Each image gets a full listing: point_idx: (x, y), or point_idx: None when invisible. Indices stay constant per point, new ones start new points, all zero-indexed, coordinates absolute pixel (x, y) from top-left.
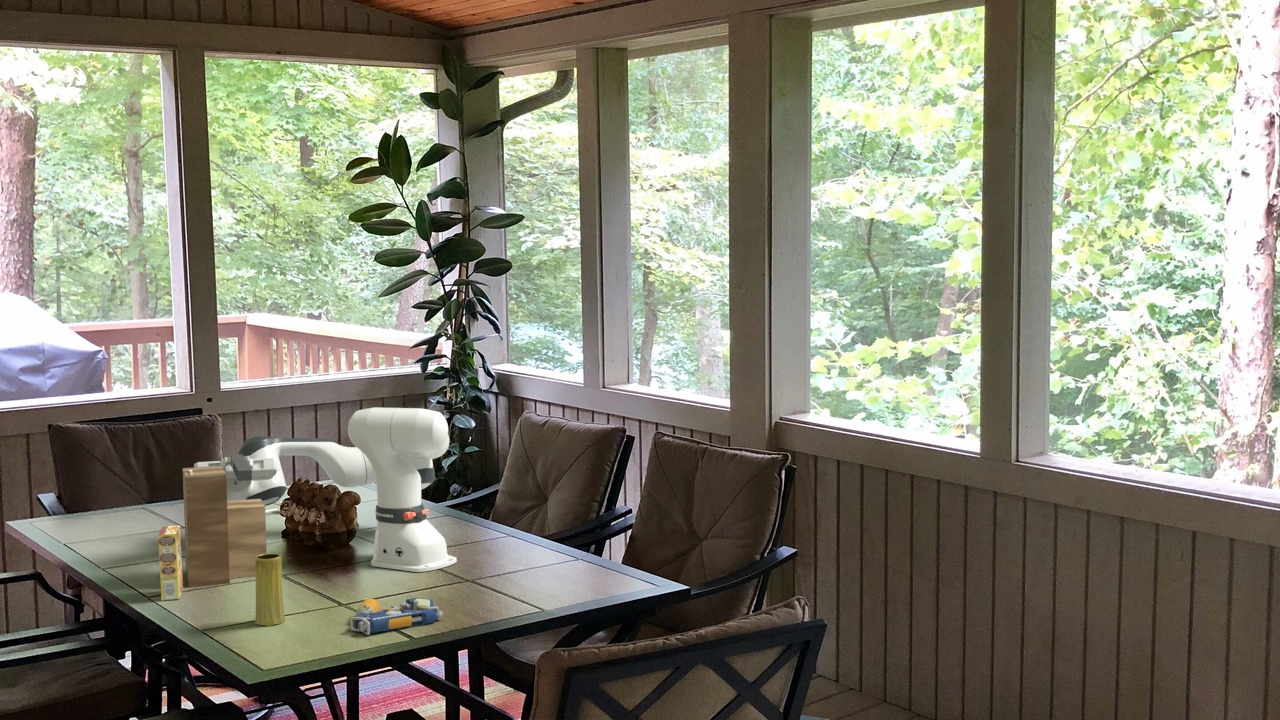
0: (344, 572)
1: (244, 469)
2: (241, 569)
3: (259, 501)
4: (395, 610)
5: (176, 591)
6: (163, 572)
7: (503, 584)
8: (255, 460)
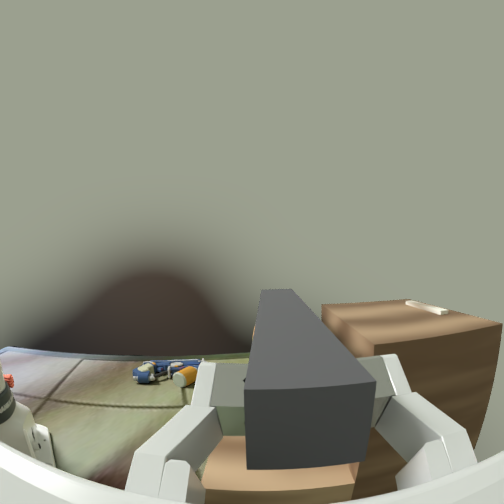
0: (106, 481)
1: (277, 290)
2: None
3: (218, 457)
4: (173, 364)
5: None
6: None
7: (43, 384)
8: (95, 482)
